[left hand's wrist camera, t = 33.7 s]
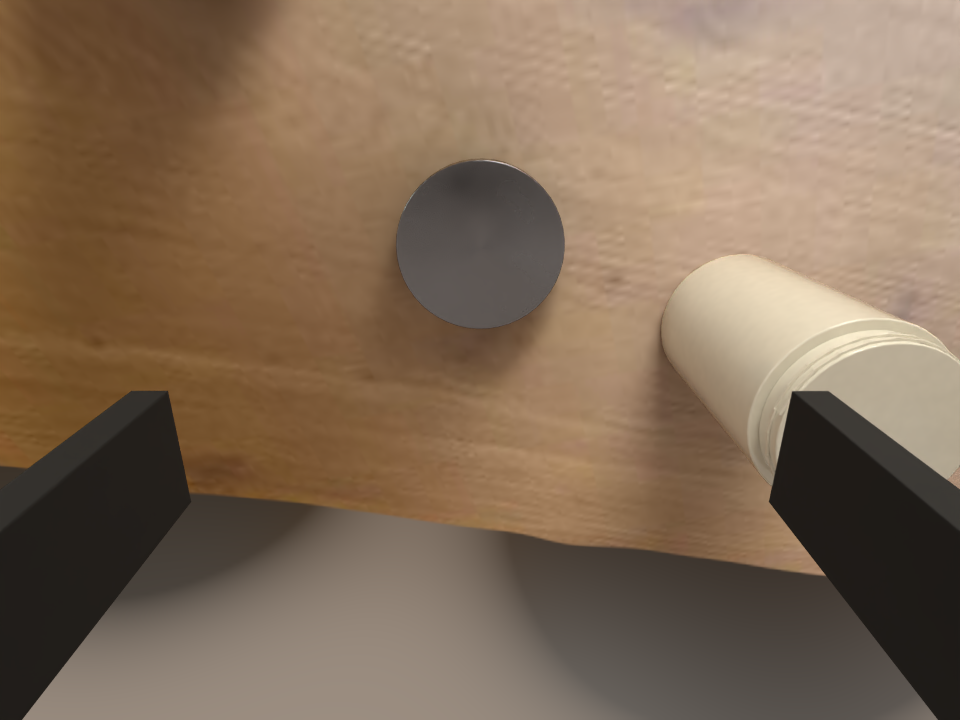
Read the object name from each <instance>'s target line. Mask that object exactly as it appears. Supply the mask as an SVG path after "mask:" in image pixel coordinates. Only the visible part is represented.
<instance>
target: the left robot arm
mask: <svg viewBox="0 0 960 720" xmlns="http://www.w3.org/2000/svg"><path fill="white" fill-rule="evenodd" d="M190 502H191V499H190V494H189V490H188V485H187V480H186V475H185V470H184V466H183V461H182V456H181V451H180V447H179V442H178V437H177V432H176V427H175V423H174V418H173V413H172V408H171V403H170V399H169V394H168V391H131V392H129V393H128V394H127V395H125V396H124V397H123V398H121V399H120V400H119V401H117V402H116V403H115V404H113V405H112V406H111V407H109V408H108V409H107V410H105V411H104V412H103V413H101V414H100V415H99V416H97V417H96V418H95V419H93V420H92V421H91V422H89V423H88V424H87V425H85V426H84V427H83V428H81V429H80V430H79V431H77V432H76V433H75V434H73V435H72V436H71V437H69V438H68V439H67V440H65V441H64V442H63V443H61V444H60V445H59V446H57V447H56V448H55V449H53V450H52V451H51V452H49V453H48V454H47V455H45V456H44V457H43V458H41V459H40V460H39V461H37V462H36V463H35V464H33V465H32V466H31V467H30V468H28V469H27V470H26V471H24V472H23V473H22V474H20V475H19V476H18V477H16V478H15V479H14V480H12V481H11V482H10V483H8V484H7V485H6V486H4V487H3V488H2V489H0V720H22V719H23V718H24V716H25V715H26V714H27V713H28V711H29V710H30V709H31V707H32V706H33V705H34V703H35V702H36V701H37V700H38V698H39V697H40V696H41V695H42V693H43V692H44V691H45V689H46V688H47V687H48V685H49V684H50V683H51V682H52V680H53V679H54V678H55V676H56V675H57V674H58V673H59V671H60V670H61V669H62V667H63V666H64V665H65V664H66V662H67V661H68V660H69V658H70V657H71V656H72V655H73V653H74V652H75V651H76V649H77V648H78V647H79V645H80V644H81V643H82V642H83V640H84V639H85V638H86V637H87V635H88V634H89V633H90V631H91V630H92V629H93V628H94V626H95V625H96V624H97V622H98V621H99V620H100V619H101V617H102V616H103V615H104V613H105V612H106V611H107V609H108V608H109V607H110V606H111V604H112V603H113V602H114V600H115V599H116V598H117V597H118V595H119V594H120V593H121V591H122V590H123V589H124V588H125V586H126V585H127V584H128V582H129V581H130V580H131V578H132V577H133V576H134V575H135V573H136V572H137V571H138V570H139V568H140V567H141V566H142V564H143V563H144V562H145V560H146V559H147V558H148V557H149V555H150V554H151V553H152V551H153V550H154V549H155V548H156V546H157V545H158V544H159V542H160V541H161V540H162V539H163V537H164V536H165V535H166V533H167V532H168V531H169V530H170V528H171V527H172V526H173V524H174V523H175V522H176V521H177V519H178V518H179V517H180V515H181V514H182V513H183V512H184V510H185V509H186V508H187V506H188V505H189V504H190ZM769 503H770V504H771V505H772V506H773V508H774V509H775V510H776V512H777V513H778V514H779V515H780V517H781V518H782V519H783V521H784V522H785V523H786V524H787V526H788V527H789V528H790V530H791V531H792V532H793V533H794V535H795V536H796V537H797V539H798V540H799V541H800V542H801V544H802V545H803V546H804V548H805V549H806V550H807V551H808V553H809V554H810V555H811V557H812V558H813V559H814V561H815V562H816V563H817V564H818V566H819V567H820V568H821V570H822V571H823V572H824V573H825V575H826V576H827V577H828V579H829V580H830V581H831V582H832V584H833V585H834V586H835V588H836V589H837V590H838V591H839V593H840V594H841V595H842V597H843V598H844V599H845V600H846V602H847V603H848V604H849V606H850V607H851V608H852V609H853V611H854V612H855V613H856V615H857V616H858V617H859V619H860V620H861V621H862V622H863V624H864V625H865V626H866V627H867V629H868V630H869V631H870V633H871V634H872V635H873V637H874V638H875V639H876V640H877V642H878V643H879V644H880V646H881V647H882V648H883V649H884V651H885V652H886V653H887V654H888V656H889V657H890V658H891V660H892V661H893V662H894V664H895V665H896V666H897V667H898V669H899V670H900V671H901V673H902V674H903V675H904V676H905V678H906V679H907V680H908V682H909V683H910V684H911V685H912V687H913V688H914V689H915V691H916V692H917V693H918V695H919V696H920V697H921V698H922V700H923V701H924V702H925V704H926V705H927V706H928V707H929V709H930V710H931V711H932V713H933V714H934V715H935V716H936V718H937V719H938V720H960V489H958V488H957V487H956V486H954V485H953V484H952V483H950V482H949V481H948V480H946V479H945V478H944V477H942V476H941V475H940V474H938V473H937V472H936V471H934V470H933V469H932V468H930V467H929V466H928V465H927V464H925V463H924V462H923V461H921V460H920V459H919V458H917V457H916V456H915V455H913V454H912V453H911V452H909V451H908V450H907V449H905V448H904V447H903V446H901V445H900V444H899V443H897V442H896V441H895V440H893V439H892V438H891V437H889V436H888V435H887V434H885V433H884V432H883V431H881V430H880V429H879V428H877V427H876V426H875V425H873V424H872V423H871V422H869V421H868V420H867V419H865V418H864V417H863V416H861V415H860V414H859V413H857V412H856V411H855V410H853V409H852V408H851V407H849V406H848V405H847V404H845V403H844V402H843V401H841V400H840V399H839V398H837V397H836V396H835V395H833V394H832V393H831V392H829V391H792V394H791V399H790V403H789V408H788V413H787V418H786V423H785V427H784V432H783V437H782V442H781V447H780V451H779V456H778V461H777V466H776V470H775V475H774V480H773V485H772V490H771V494H770V499H769Z"/></svg>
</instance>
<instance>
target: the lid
mask: <svg viewBox="0 0 960 720" xmlns="http://www.w3.org/2000/svg"><path fill="white" fill-rule="evenodd" d="M564 248H565V239H564V231H563V226H562V222H561V218H560V216H559V213H558V211H557V208H556V206H555V204H554V203H553V201H552V199H551V197H550V196H549V195H548V194H547V192H546V191H545V190H544V188H543V187H542V186H541V185H540V184H539V183H538V182H537V181H536V180H534V179H533V178H532V177H531V176H529V175H528V174H527V173H525V172H524V171H522V170H521V169H519V168H517V167H515V166H513V165H510V164H508V163H505V162H501V161H497V160H492V159H469V160H464V161H459V162H456V163H453V164H450V165H448V166H446V167H444V168H442V169H440V170H439V171H437V172H436V173H434V174H433V175H431V176H430V177H429V178H428V179H427V180H426V181H424V182H423V183H422V184H421V185H420V186H419V187H418V189H417V190H416V191H415V192H414V193H413V195H412V196H411V198H410V199H409V201H408V202H407V204H406V206H405V208H404V210H403V213H402V215H401V218H400V221H399V225H398V231H397V239H396V250H397V259H398V263H399V268H400V271H401V273H402V276H403V279H404V281H405V283H406V285H407V286H408V288H409V290H410V291H411V293H412V294H413V296H414V297H415V298H416V299H417V300H418V301H419V302H420V304H421V305H422V306H424V307H425V308H426V309H427V310H428V311H429V312H431V313H432V314H434V315H435V316H437V317H438V318H440V319H442V320H444V321H446V322H449V323H452V324H454V325H457V326H462V327H466V328H476V329H485V328H494V327H500V326H503V325H506V324H510V323H512V322H514V321H517V320H519V319H521V318H522V317H524V316H526V315H527V314H529V313H530V312H531V311H533V310H534V309H535V308H536V307H537V306H538V305H539V304H540V303H541V302H542V301H543V300H544V299H545V298H546V296H547V295H548V294H549V293H550V291H551V290H552V288H553V286H554V284H555V283H556V280H557V278H558V276H559V273H560V270H561V267H562V263H563V258H564Z"/></svg>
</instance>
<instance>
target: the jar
mask: <svg viewBox="0 0 960 720" xmlns="http://www.w3.org/2000/svg"><path fill="white" fill-rule="evenodd" d="M661 339H662V345H663V349H664V352H665V354H666V357H667V359H668V361H669V362H670V364H671V365H672V367H673V368H674V369H675V370H676V372H677V373H678V374H679V375H680V376H681V378H682V379H683V380H684V381H685V383H686V384H687V385H688V386H689V388H690V389H691V390H692V391H693V393H694V394H695V395H696V396H697V397H698V399H699V400H700V401H701V402H702V404H703V405H704V406H705V407H706V409H707V410H708V411H709V412H710V413H711V415H712V416H713V417H714V418H715V420H716V421H717V422H718V423H719V425H720V426H721V427H722V428H723V429H724V431H725V432H726V433H727V434H728V436H729V437H730V438H731V439H732V441H733V442H734V443H735V444H736V445H737V447H738V448H739V449H740V450H741V452H742V453H743V454H744V455H745V457H746V458H747V459H748V460H749V462H750V463H751V464H752V465H753V466H754V468H755V469H756V470H757V471H758V473H759V474H760V475H761V476H762V477H763V478H764V480H765V481H766V482H767V483H768V484H769V485H771V486H772V485H773V480H774V475H775V470H776V466H777V461H778V456H779V451H780V447H781V442H782V437H783V432H784V427H785V423H786V418H787V413H788V408H789V403H790V399H791V394H792V391H829V392H831V393H832V394H833V395H835V396H836V397H837V398H839V399H840V400H841V401H843V402H844V403H845V404H847V405H848V406H849V407H851V408H852V409H853V410H855V411H856V412H857V413H859V414H860V415H861V416H863V417H864V418H865V419H867V420H868V421H869V422H871V423H872V424H873V425H875V426H876V427H877V428H879V429H880V430H881V431H883V432H884V433H885V434H887V435H888V436H889V437H891V438H892V439H893V440H895V441H896V442H897V443H899V444H900V445H901V446H903V447H904V448H905V449H907V450H908V451H909V452H911V453H912V454H913V455H915V456H916V457H917V458H919V459H920V460H921V461H923V462H924V463H925V464H927V465H928V466H929V467H930V468H932V469H933V470H934V471H936V472H937V473H938V474H940V475H941V476H942V477H944V478H945V479H946V480H948V479H949V478H950V477H951V476H952V475H953V474H954V472H955V471H956V470H957V469H958V468H959V467H960V360H959V359H958V358H957V357H955V356H954V355H953V354H952V353H951V352H949V351H948V349H947V348H946V346H945V345H944V344H943V343H942V342H941V341H940V340H939V339H938V338H937V337H935V336H934V335H933V334H931V333H930V332H928V331H927V330H925V329H923V328H921V327H919V326H917V325H915V324H913V323H911V322H908V321H906V320H904V319H902V318H899V317H897V316H895V315H893V314H891V313H888V312H886V311H884V310H882V309H879V308H877V307H875V306H873V305H870V304H868V303H866V302H864V301H862V300H859V299H857V298H855V297H853V296H850V295H848V294H846V293H844V292H841V291H839V290H837V289H835V288H833V287H830V286H828V285H826V284H824V283H821V282H819V281H817V280H815V279H812V278H810V277H808V276H806V275H804V274H801V273H799V272H797V271H795V270H792V269H790V268H788V267H786V266H783V265H781V264H779V263H777V262H775V261H772V260H770V259H768V258H764V257H761V256H757V255H751V254H738V255H730V256H725V257H721V258H718V259H715V260H713V261H710V262H708V263H706V264H704V265H702V266H701V267H699V268H698V269H696V270H695V271H693V272H692V273H691V274H690V275H689V276H687V277H686V278H685V279H684V280H683V281H682V282H681V283H680V285H679V286H678V287H677V288H676V290H675V291H674V292H673V294H672V296H671V298H670V299H669V301H668V304H667V306H666V308H665V311H664V315H663V318H662V325H661Z"/></svg>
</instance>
